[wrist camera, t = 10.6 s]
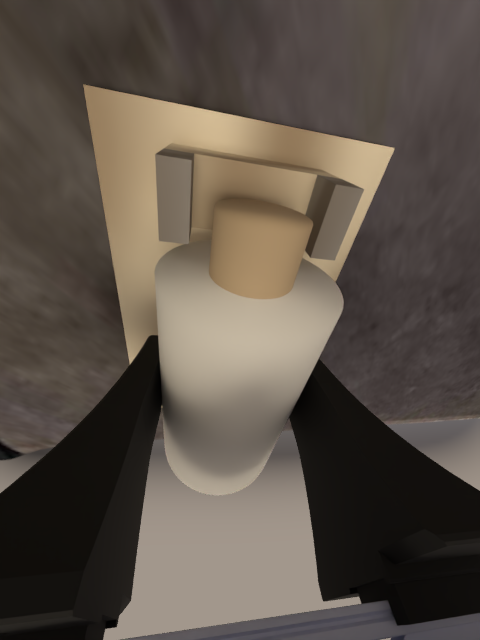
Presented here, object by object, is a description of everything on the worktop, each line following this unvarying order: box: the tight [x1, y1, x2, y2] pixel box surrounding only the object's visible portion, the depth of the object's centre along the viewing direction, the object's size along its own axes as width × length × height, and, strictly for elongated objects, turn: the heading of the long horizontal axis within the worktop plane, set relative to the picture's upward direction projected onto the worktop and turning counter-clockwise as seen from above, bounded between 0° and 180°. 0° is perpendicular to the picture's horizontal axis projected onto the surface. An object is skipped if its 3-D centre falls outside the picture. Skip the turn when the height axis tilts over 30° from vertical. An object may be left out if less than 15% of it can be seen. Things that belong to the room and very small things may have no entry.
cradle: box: [83, 85, 395, 364], centre depth 12 cm, size 10×16×4 cm, turn 171°
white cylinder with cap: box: [154, 199, 344, 495], centre depth 10 cm, size 5×12×5 cm, turn 171°
